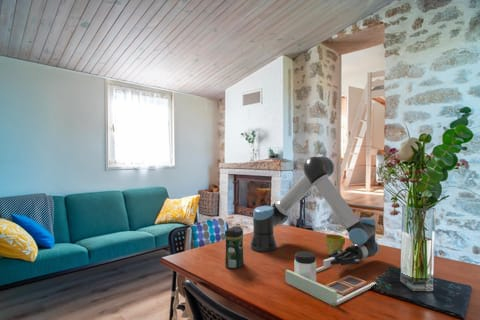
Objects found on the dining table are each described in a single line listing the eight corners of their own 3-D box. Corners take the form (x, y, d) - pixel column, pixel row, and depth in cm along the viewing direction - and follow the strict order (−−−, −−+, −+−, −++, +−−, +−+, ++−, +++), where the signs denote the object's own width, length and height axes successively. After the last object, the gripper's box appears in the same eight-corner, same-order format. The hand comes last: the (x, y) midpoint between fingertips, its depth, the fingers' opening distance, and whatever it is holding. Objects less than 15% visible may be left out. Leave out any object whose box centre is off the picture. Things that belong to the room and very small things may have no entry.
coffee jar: (231, 260, 144) (230, 224, 144) (245, 263, 141) (245, 225, 141) (222, 267, 135) (222, 229, 135) (237, 270, 132) (237, 230, 132)
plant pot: (342, 251, 157) (342, 234, 157) (347, 258, 147) (347, 239, 147) (323, 251, 158) (323, 233, 158) (327, 257, 148) (327, 239, 148)
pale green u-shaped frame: (327, 267, 135) (327, 256, 135) (376, 285, 116) (376, 272, 116) (285, 282, 119) (285, 270, 119) (334, 306, 100) (334, 292, 100)
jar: (319, 286, 115) (319, 256, 115) (301, 288, 113) (301, 258, 113) (308, 277, 124) (308, 250, 124) (291, 279, 122) (291, 251, 122)
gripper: (368, 264, 132) (337, 277, 118) (344, 256, 142) (312, 267, 129) (368, 248, 132) (337, 259, 118) (344, 242, 142) (312, 251, 129)
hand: (324, 263), depth 123 cm, fingers closed
